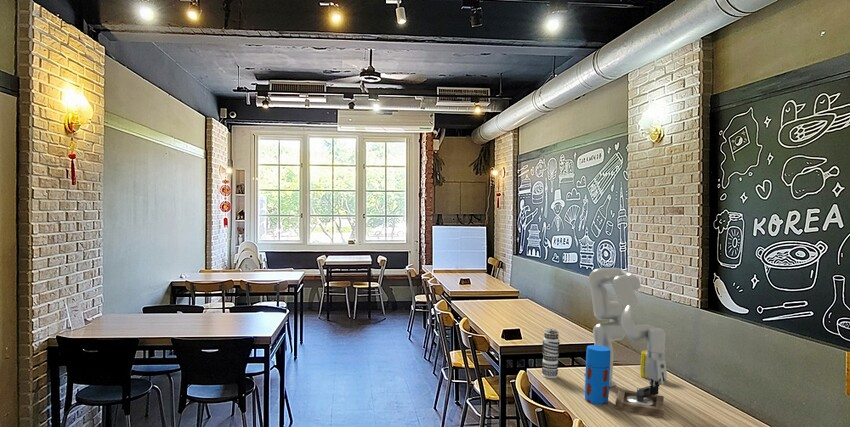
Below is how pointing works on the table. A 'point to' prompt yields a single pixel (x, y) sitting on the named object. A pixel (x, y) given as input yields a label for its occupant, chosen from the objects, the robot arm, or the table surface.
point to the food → (643, 363)
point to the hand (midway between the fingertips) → (654, 394)
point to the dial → (641, 397)
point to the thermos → (597, 374)
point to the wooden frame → (639, 408)
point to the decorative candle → (550, 353)
